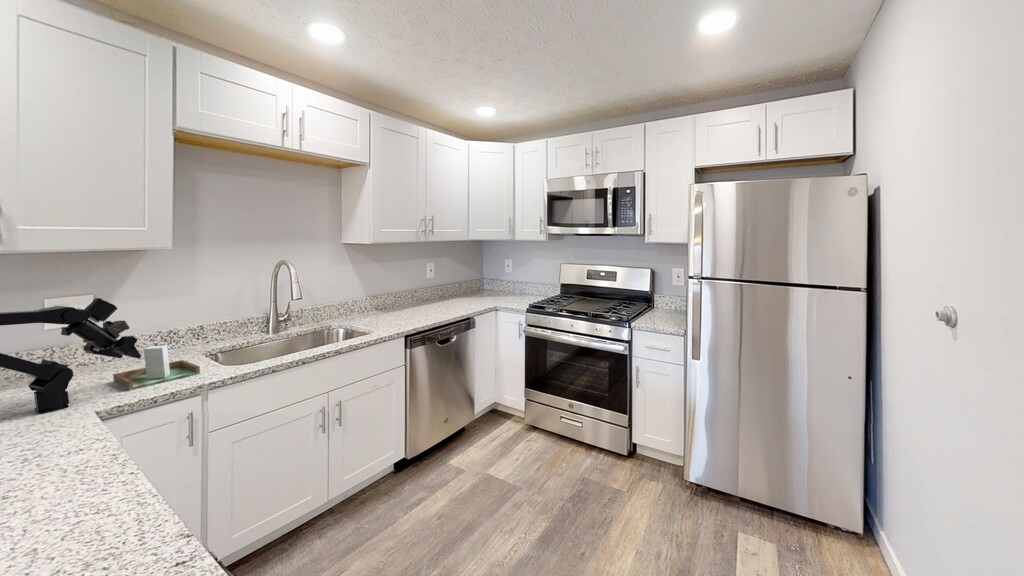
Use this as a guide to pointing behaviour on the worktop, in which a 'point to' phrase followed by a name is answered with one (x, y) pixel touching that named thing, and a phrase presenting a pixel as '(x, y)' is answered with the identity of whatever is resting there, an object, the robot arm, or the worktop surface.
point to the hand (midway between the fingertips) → (130, 357)
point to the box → (139, 378)
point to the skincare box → (156, 362)
